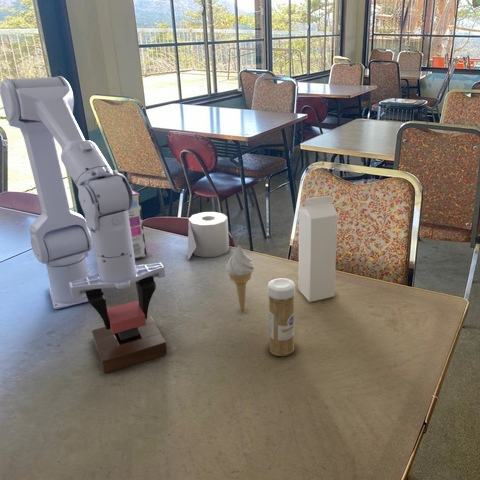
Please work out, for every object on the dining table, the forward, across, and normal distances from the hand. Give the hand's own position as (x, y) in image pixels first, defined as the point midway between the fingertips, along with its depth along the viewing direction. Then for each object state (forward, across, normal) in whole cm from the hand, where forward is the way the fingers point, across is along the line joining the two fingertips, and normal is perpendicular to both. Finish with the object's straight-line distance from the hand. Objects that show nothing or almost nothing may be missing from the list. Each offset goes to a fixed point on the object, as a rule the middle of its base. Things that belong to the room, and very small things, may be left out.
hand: (125, 321), depth 83 cm
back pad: (+2, 0, 0) cm, 2 cm away
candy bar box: (+6, +9, +41) cm, 42 cm away
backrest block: (+6, 0, 0) cm, 6 cm away
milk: (+6, +39, 0) cm, 39 cm away
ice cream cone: (+6, +22, +1) cm, 23 cm away
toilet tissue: (+6, +26, +32) cm, 42 cm away
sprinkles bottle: (+6, +23, -14) cm, 28 cm away
